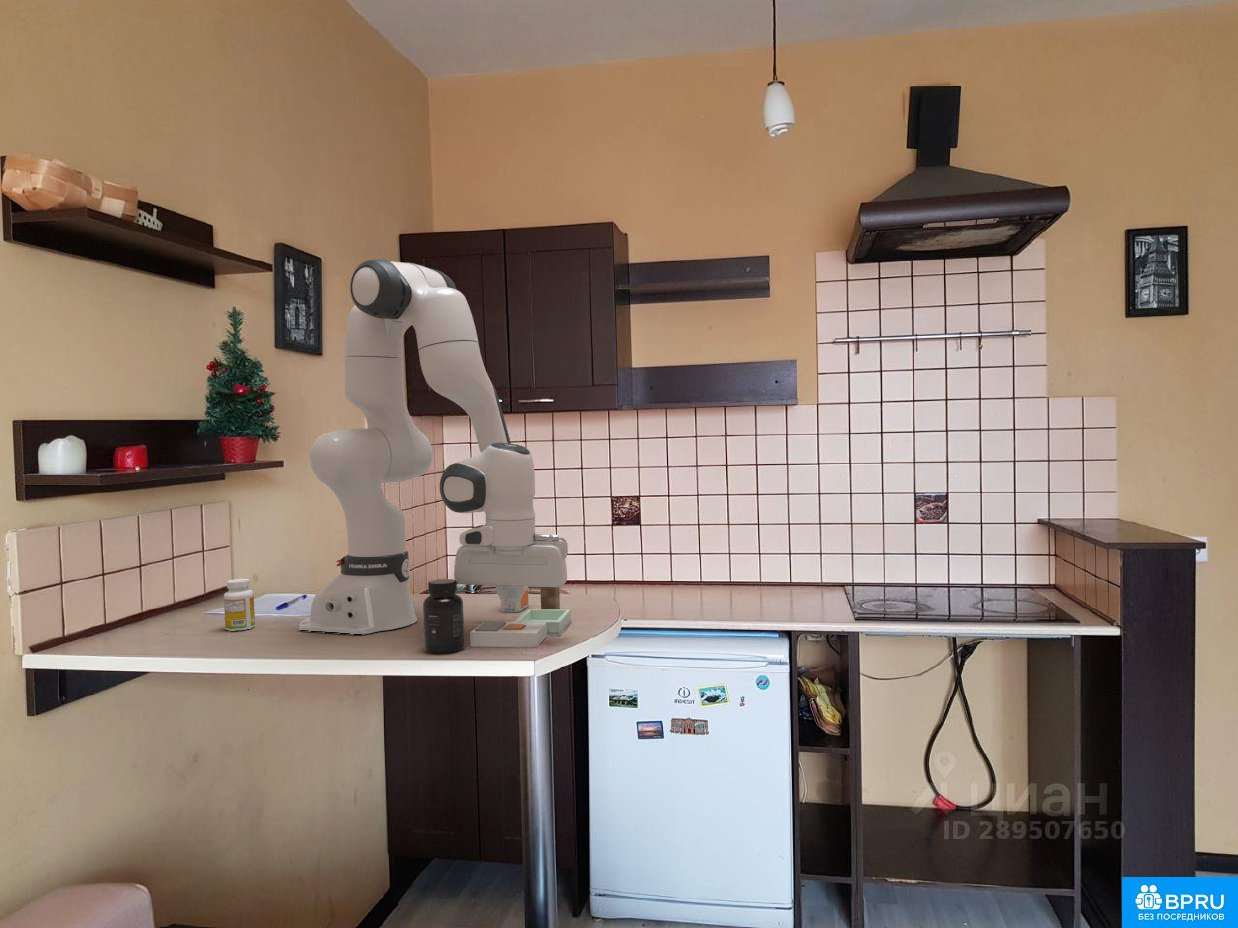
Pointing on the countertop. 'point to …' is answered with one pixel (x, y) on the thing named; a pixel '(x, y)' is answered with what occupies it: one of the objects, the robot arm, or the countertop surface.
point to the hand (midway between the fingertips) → (511, 609)
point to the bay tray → (548, 619)
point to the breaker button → (514, 627)
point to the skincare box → (512, 594)
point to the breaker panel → (508, 635)
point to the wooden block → (550, 597)
